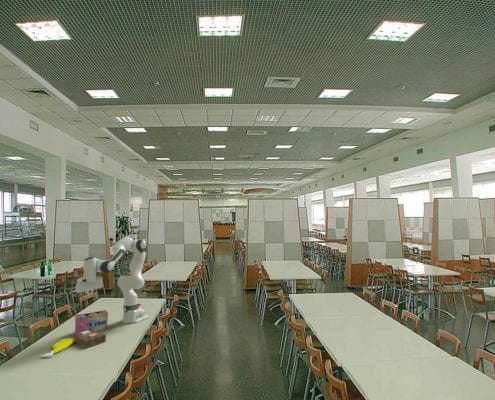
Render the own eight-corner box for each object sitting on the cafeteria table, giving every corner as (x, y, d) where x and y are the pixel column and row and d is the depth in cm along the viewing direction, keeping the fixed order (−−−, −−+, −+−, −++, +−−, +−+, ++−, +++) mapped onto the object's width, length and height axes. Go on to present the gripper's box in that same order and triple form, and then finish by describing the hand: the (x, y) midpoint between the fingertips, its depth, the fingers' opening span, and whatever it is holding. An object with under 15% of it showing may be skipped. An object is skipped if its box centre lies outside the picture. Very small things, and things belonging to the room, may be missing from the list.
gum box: (107, 326, 257) (107, 309, 258) (109, 328, 250) (109, 311, 251) (74, 332, 243) (75, 315, 244) (76, 335, 236) (76, 317, 237)
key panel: (91, 335, 235) (91, 329, 236) (105, 341, 224) (105, 334, 224) (72, 342, 224) (72, 335, 224) (86, 348, 213) (86, 340, 213)
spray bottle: (76, 341, 223) (54, 358, 198) (61, 342, 223) (37, 359, 199) (76, 337, 223) (54, 354, 198) (61, 338, 223) (37, 354, 199)
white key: (87, 335, 230) (87, 330, 231) (90, 337, 228) (90, 331, 228) (80, 338, 226) (80, 332, 226) (83, 339, 223) (83, 333, 224)
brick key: (94, 338, 225) (94, 332, 225) (98, 339, 222) (98, 334, 222) (87, 340, 221) (87, 335, 221) (91, 342, 218) (91, 336, 218)
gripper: (100, 275, 249) (100, 292, 249) (74, 280, 232) (74, 298, 232) (104, 276, 246) (104, 293, 245) (78, 281, 229) (78, 299, 228)
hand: (89, 295), depth 238 cm, fingers closed
